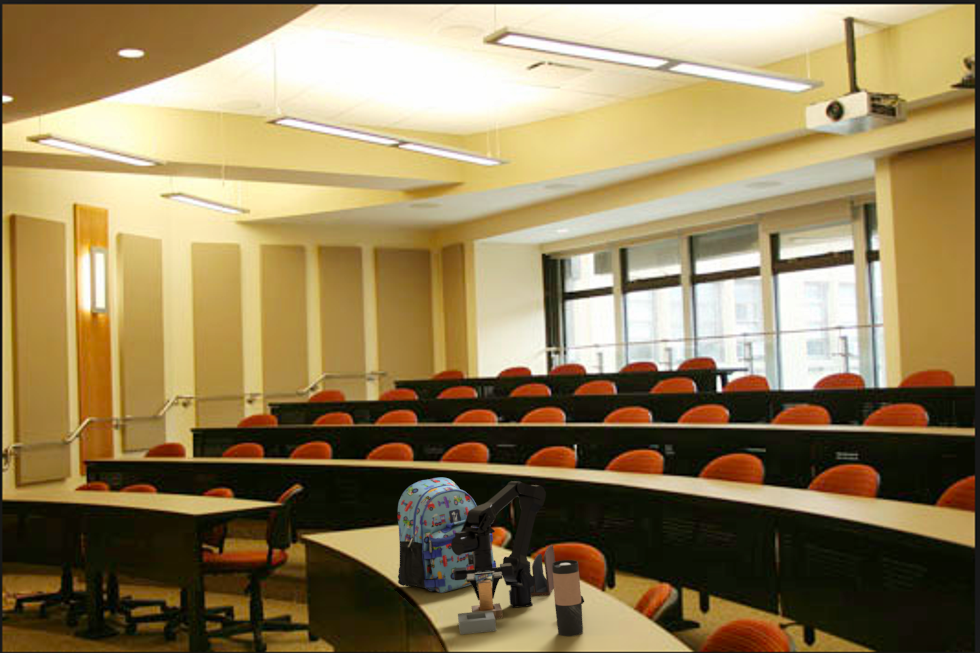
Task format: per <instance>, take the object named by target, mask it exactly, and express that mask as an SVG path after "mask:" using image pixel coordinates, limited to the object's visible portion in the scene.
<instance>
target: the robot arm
mask: <svg viewBox="0 0 980 653" xmlns="http://www.w3.org/2000/svg"><path fill="white" fill-rule="evenodd" d="M517 497H518V503H519V506H520V509H521V511H520V516H519V520H518V525H517V529H516V533H515V537H514V541H513V546H512V550H511V553H510V554H509V555H508V556H504V557H503V559H502V563H500V564H499V566H496V567H493V568H492V555H491V543H490V533H492V534H493V533H495V532H496V530H495V529H494V528H492V527H491V526H492V524H493V523H494V521H495V520H496V519H497V518H496V517H497V515H498V514H499V513H500V511H501V510H503V509H504V508H505V507H506V506H508V504H510V502H512V501H513V500H514V499H515V498H517ZM546 498H547V492H546V491H545V487H543V486H542V485H537V484H535V485H534V484H526V483H524V482H521V481H515V480H514V481H512V480H511V481H509V482H508V483H507V484H506V486H505V487H503V488H502V489H500V491H498V492H497V493H496V494H495V495H494V496H492V497H491V498H490V499H489V500H488V501H486V502H485V503H482V504H480V505H479V504H478V505H477V506H476V507H474V508H473V509H471V510H470V511H469V512H468V516H467V518H466V521H465V523H464V525H463V528H462V530H461V531H462V532H457V533H455V537H454V538H453V540H452V543H451V547H452V550H453V552H454V553H455V554H456V555H462V554H466V553H470V552H473V555H468V564H469V565H473V566H474V569H472V570H466V567H462V568H455V569H454V570H453V571H454V580H465V579H466V581H467V582H470V583H471V585H470V586H472V588H473V590H474V593H475V594H476V597H477V598H476V599H477V601H479V592H478V582H476V578H475V575H484V574H492V576H491V586H492V599H493V600H494V599H495V594H496V591H497V590H496V589H497V586H498V584H499V581H500V580H502V579H503V580H504V583H505V586H507V587H508V586H509V588H510V589H509V590H508V596H509V597H508V598H509V604H510V605H511V608H520V607H521V608H522V607H531V606H533V602H532V596H531V588H530V587H532V586H534V584H535V578H534V577H533V574H530V573H531V572H530V573H529V563H528V561H529V560H528V557H527V556H528V551H529V548H530V542H531V539H532V538H531V537H532V534H533V530H534V524H535V520H536V516H537V513H538V512H539V511H540V510H541V508H542V507H543V506H544V503H545V501H546ZM474 527H478V528H474Z"/></svg>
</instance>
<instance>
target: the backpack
mask: <svg viewBox="0 0 980 653" xmlns="http://www.w3.org/2000/svg"><path fill="white" fill-rule="evenodd" d="M476 506H478V505H477V503H476V502H475V500H474V498H473V497H472V496H471V495H470V494H469V493H467V492H466V491H465V490H463V489H460V487H459V486H458V485H457V483H455V481H453V480H452V479H450V478H447V477H433V478H430V479H428V478H427V479H422V480H418V481H417V482H414V483H413V484H411V485H409V486H408V487H407V488H406V489H405V490H404V491H403V492H402V494H401V496H400V499H399V500H398V504H397V522H398V524H397V525H398V535H399V536H398V539H399V540H398V541H399V566H398V575H397V578H398V580H397V581H398V582H397V583H398V584H399V585H400V586H403V587H404V586H405V587H417V588H422V589H425V590H426V591H429V592H435V591H436V592H437V593H439V594H440V593H443V594H444V593H449V592H451V591H455V590H459V589H462V588H465V587H468V586H472V585H471V583H470V582H467V581H466V579H465V580H454V571H453V570H454V569H455V568H462V567H466V570H472V569H474V566H473V565H469V564H468V555H473V552H470V553H466V554H462V555H456V554H455V553H454V552H453V550H452V547H451V543H452V540H453V538H454V537H455V533H457V532H462V531H461V530H462V528H463V525H464V523H465V521H466V518H467V516H468V512H469V511H470V510H471V509H473V508H474V507H476ZM474 528H478V527H474ZM493 536H494V535H493V533H490V543H491V555H492V568H493V567H497V562H496V560H494V551H493V541H494V538H493ZM490 577H492V574H484V575H475V578H476V582H477V583H478V581H483V580H485V579H486V580H487V578H490Z"/></svg>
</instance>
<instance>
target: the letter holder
mask: <svg viewBox="0 0 980 653" xmlns="http://www.w3.org/2000/svg"><path fill="white" fill-rule="evenodd" d="M543 561H544V564H543ZM553 562H556V558H555V548H554V545H553V544H550V545H549V546H548V547H546V550H545V552H544V556H543V554H542V553H538V554H537V555H536V556H535V558H534V559H533V562H532V565H531V562H530V561H529V560H528V563H529V573H530V574H531V571H532V574H531V575H532V576H533V577H534V578H535V584H534V586H532V587H530V588H531V597H536V596H537V597H538V596H551V593H552V591H554V583H553V569H552V563H553ZM531 566H532V567H531ZM543 566H544V567H543ZM543 568H544V569H543ZM544 570H545V575H544Z"/></svg>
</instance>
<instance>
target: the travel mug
mask: <svg viewBox="0 0 980 653" xmlns="http://www.w3.org/2000/svg"><path fill="white" fill-rule="evenodd" d="M552 569H553V583H554V588H553V595H554V608H555V617H556V625H557V633H558V635H560V636H563V637H575V636H579V635H581V634H583V633H584V628H583V627H584V625H583V624H584V623H583V608H582V607H583V606H582V605H583V604H582V602H581V596H582V593H581V591H582V590H581V582H580V580H581V579H580V572H579V562H578V560H575V559H563V560H562V559H561V560H557V561H556V560H555V562H553V563H552Z"/></svg>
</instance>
